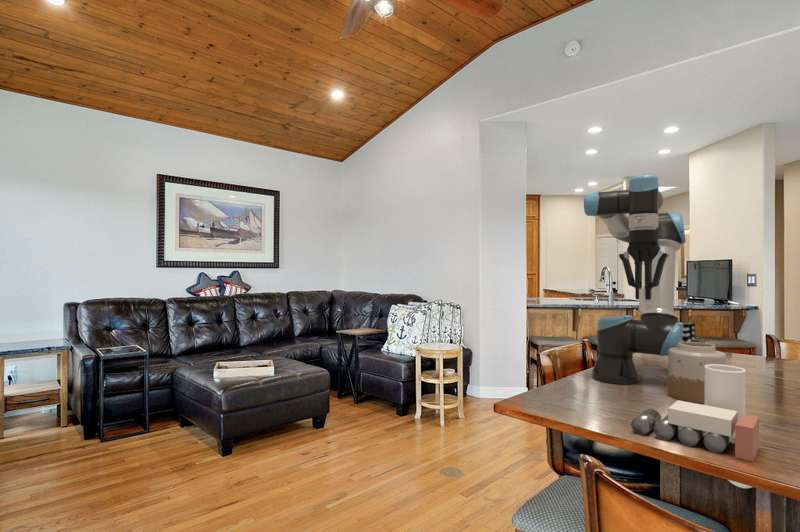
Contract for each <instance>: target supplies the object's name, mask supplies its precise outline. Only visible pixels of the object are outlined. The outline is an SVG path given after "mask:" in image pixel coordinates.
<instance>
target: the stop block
mask: <svg viewBox="0 0 800 532" xmlns="http://www.w3.org/2000/svg"><path fill="white" fill-rule="evenodd" d="M734 440H735V442H734V446H735V447H734V452H735V453H734V458H735V459H739V460H744V461H747V462H752V463H753V462H754V460H755V458H756V456H757V454H758V451H759V449H760V417H759V416H755V415H748V414H746V415H744V414H742V416H741V417H740V419H739V420H738V421H737V423H736V424H735V439H734Z"/></svg>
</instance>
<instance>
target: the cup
mask: <svg viewBox="0 0 800 532" xmlns="http://www.w3.org/2000/svg"><path fill="white" fill-rule="evenodd" d="M746 380H747V379H746V369H745V368H743V367H739V366H735V365H729V364H728V365H727V364H726V365H719V364H708V365H705V404H704V405H706V406H712V407H717V408H723V409H728V410H734V411H738V420H739V419H740V417H741V416H742V414H744V415H747V413H746V412H747V411H746V408H747V407H746V385H747V383H746V382H747V381H746ZM732 439H734V440H735V431H734V433H733V437H732Z"/></svg>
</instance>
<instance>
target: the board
mask: <svg viewBox="0 0 800 532" xmlns="http://www.w3.org/2000/svg"><path fill="white" fill-rule="evenodd" d="M667 415H668V423H670V424H674V425H679V426H683V427H688V428H693V429H697V430H702V431H707V432H706V433H708V432H711V433H716V434H721V435H725V436H730V437H731V436H732V434H733V433H734V431H735V424H736V423H737V421H738V411H734V410H728V409H723V408H717V407H712V406H706V405H705V404H700V403H693V402H688V401H683V400H680V399H678V400H676V401H675V402H674V403H672V405H670V406H669V407H667Z"/></svg>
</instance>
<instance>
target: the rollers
mask: <svg viewBox="0 0 800 532" xmlns="http://www.w3.org/2000/svg"><path fill="white" fill-rule="evenodd" d="M631 429H632V430H633V431H634V432H635V433H636V434H637V435H639V436H644V435H645V436H646V434H648V433H649V432H651V431H652V430H653V433H654V435H655V436H656V437H657V438H658V439H659V440H662V441H669V440H671V439H672V438H673V437H674V436H676V435H677V438H678V440H679V442H680V443H681V444H683V445H684V446H687V447H695V446H696V445H697V444H698V443H699V442H700V441H701V439H702V438H703V444H704V446H705V448H706V449H707V450H708V451H710V452H712V453H715V454H720V453H722V452H724V451H725V449H726V448H727V446H728V445H729V444H730V442H731V441H732V439H733V438H732V437H733V434H732V436H731V437H730V436H725V435H721V434H716V433H711V432H707V431H702V430H697V429H693V428H688V427H684V426H679V425H674V424H670V423H668V414H667V415H666V416H665V417H663V418H662V417H661V413H659V411H657V410H656V409H653V408H647V409H646V410H644V411H643V412H641V413H640V414H639V415H637V416H636V417H635V418H633V419H632V421H631Z"/></svg>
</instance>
